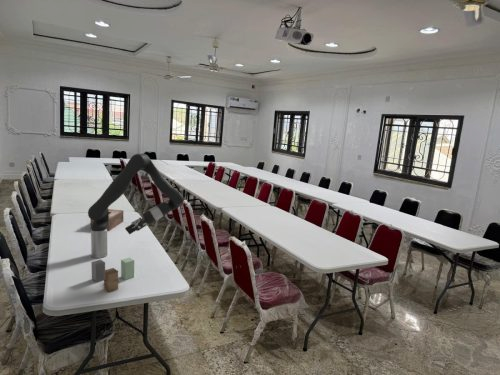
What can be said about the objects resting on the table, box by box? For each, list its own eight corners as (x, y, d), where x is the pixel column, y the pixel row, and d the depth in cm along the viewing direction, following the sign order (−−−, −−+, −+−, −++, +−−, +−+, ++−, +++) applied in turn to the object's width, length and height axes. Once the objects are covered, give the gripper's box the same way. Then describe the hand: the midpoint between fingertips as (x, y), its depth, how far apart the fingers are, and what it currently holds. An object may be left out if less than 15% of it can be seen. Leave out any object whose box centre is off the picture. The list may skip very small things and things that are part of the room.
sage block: (121, 276, 189) (121, 259, 187) (129, 274, 192) (129, 257, 191) (125, 279, 185) (125, 262, 184) (134, 277, 189) (134, 260, 187)
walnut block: (104, 288, 175) (103, 270, 173) (113, 285, 178) (113, 267, 176) (108, 292, 171) (108, 273, 169) (118, 289, 175) (118, 271, 173)
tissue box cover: (109, 231, 260) (109, 218, 259) (90, 229, 261) (90, 217, 259) (123, 221, 286) (123, 210, 284) (106, 220, 286) (106, 208, 284)
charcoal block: (91, 279, 184) (91, 261, 182) (100, 276, 187) (100, 259, 185) (96, 282, 180) (95, 264, 178) (105, 279, 184) (105, 262, 182)
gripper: (146, 208, 200) (121, 223, 194) (152, 211, 187) (125, 228, 181) (153, 218, 202) (128, 234, 196) (159, 222, 190) (132, 239, 184)
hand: (127, 231), depth 189 cm, fingers open, 8 cm apart
